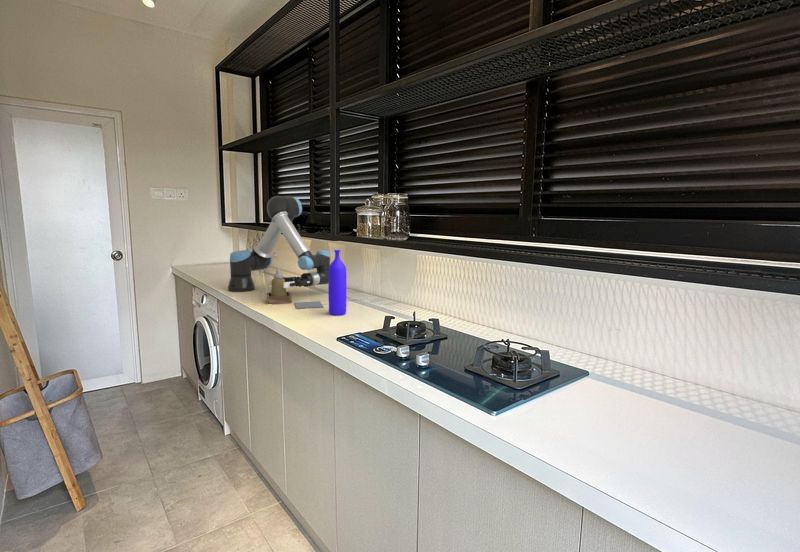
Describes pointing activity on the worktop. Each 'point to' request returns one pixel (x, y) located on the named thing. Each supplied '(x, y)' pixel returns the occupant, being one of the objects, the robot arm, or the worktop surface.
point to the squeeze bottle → (278, 285)
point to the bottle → (337, 286)
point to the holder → (279, 299)
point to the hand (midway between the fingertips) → (276, 283)
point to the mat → (308, 305)
